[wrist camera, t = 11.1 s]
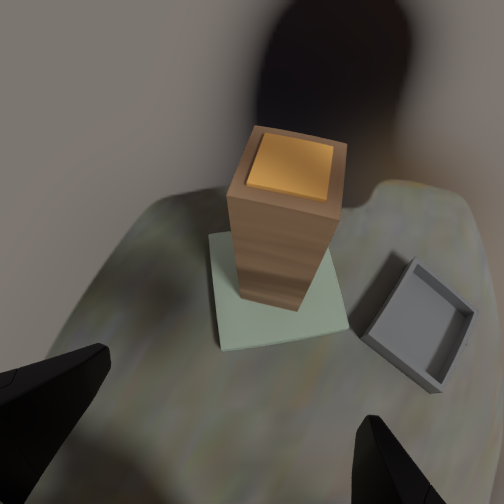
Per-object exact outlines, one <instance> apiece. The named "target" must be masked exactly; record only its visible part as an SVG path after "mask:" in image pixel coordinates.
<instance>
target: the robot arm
mask: <svg viewBox="0 0 504 504" xmlns="http://www.w3.org/2000/svg"><path fill="white" fill-rule="evenodd" d="M110 368H111V358H110V351H109V348H108V347H107V346H105V345H103V344H101V343H96V344H93V345H90V346H87V347H84V348H81V349H78V350H75V351H72V352H68V353H65V354H62V355H59V356H56V357H53V358H49V359H46V360H43V361H40V362H37V363H33V364H30V365H27V366H23V367H20V368H18V369H13V370H10V371H6V372H2V373H0V501H1V502H2V503H3V504H24V503H25V501H26V499H27V498H28V496H29V495H30V493H31V491H32V490H33V488H34V487H35V485H36V484H37V482H38V481H39V479H40V477H41V476H42V474H43V473H44V471H45V469H46V468H47V466H48V465H49V463H50V462H51V460H52V459H53V457H54V456H55V454H56V453H57V451H58V450H59V448H60V447H61V445H62V444H63V443H64V441H65V440H66V438H67V437H68V435H69V434H70V432H71V431H72V429H73V428H74V427H75V425H76V424H77V422H78V421H79V419H80V418H81V416H82V415H83V414H84V412H85V411H86V409H87V408H88V407H89V405H90V404H91V402H92V401H93V399H94V397H95V396H96V394H97V392H98V390H99V388H100V387H101V385H102V383H103V381H104V379H105V377H106V376H107V374H108V372H109V370H110ZM351 504H446V503H445V501H444V500H443V499H442V498H441V497H440V495H439V494H438V493H437V492H436V490H435V489H434V488H433V486H432V485H430V482H429V481H428V480H427V478H426V477H425V476H424V474H423V473H422V472H421V470H420V469H419V468H418V466H417V465H416V464H415V463H414V461H413V460H412V459H411V457H410V456H409V455H408V453H407V452H406V451H405V449H404V448H403V447H402V445H401V444H400V443H399V441H398V440H397V439H396V437H395V436H394V435H393V433H392V432H391V431H390V429H389V428H388V427H387V425H386V424H385V423H384V421H383V420H382V419H381V418H380V417H379V416H377V415H367V416H366V417H365V419H364V420H363V422H362V423H361V425H360V426H359V428H358V430H357V432H356V438H355V448H354V458H353V466H352V494H351Z"/></svg>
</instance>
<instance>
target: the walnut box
mask: <svg viewBox="0 0 504 504" xmlns="http://www.w3.org/2000/svg"><path fill="white" fill-rule="evenodd" d="M346 150H347V144H345V143H341V142H337V141H333V140H328V139H324V138H319V137H314V136H310V135H305V134H300V133H295V132H290V131H285V130H279V129H274V128H267V127H262V126H256V125H255V126H254V129H253V131H252V133H251V136H250V139H249V141H248V143H247V145H246V148H245V150H244V153H243V155H242V158H241V160H240V162H239V165H238V167H237V170H236V172H235V175H234V177H233V180H232V182H231V185H230V187H229V190H228V192H227V195H226V197H227V205H228V212H229V219H230V226H231V234H232V241H233V248H234V255H235V262H236V269H237V276H238V282H239V289H240V296H241V299H245V300H249V301H253V302H257V303H261V304H265V305H269V306H273V307H278V308H282V309H286V310H291V311H295V312H298V310H299V308H300V305H301V303H302V301H303V299H304V297H305V295H306V293H307V291H308V289H309V287H310V285H311V283H312V281H313V278H314V276H315V274H316V272H317V270H318V268H319V266H320V263H321V261H322V259H323V257H324V255H325V252H326V250H327V248H328V246H329V243H330V241H331V239H332V237H333V234H334V232H335V230H336V228H337V225H338V223H339V221H340V213H341V205H342V195H343V186H344V174H345V163H346Z"/></svg>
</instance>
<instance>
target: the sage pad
mask: <svg viewBox="0 0 504 504" xmlns="http://www.w3.org/2000/svg"><path fill="white" fill-rule="evenodd" d="M208 236H209V247H210V257H211V267H212V277H213V286H214V295H215V304H216V313H217V321H218V329H219V337H220V345H221V350H222V352H225V351H232V350H240V349H247V348H254V347H261V346H267V345H273V344H279V343H285V342H291V341H296V340H302V339H307V338H312V337H317V336H322V335H327V334H332V333H337V332H341V331H346V330H347V329H348V328H349V324H348V319H347V315H346V311H345V307H344V303H343V299H342V295H341V292H340V288H339V284H338V280H337V276H336V273H335V269H334V266H333V262H332V258H331V255H330V251H329V248H327V250H326V252H325V255H324V257H323V259H322V261H321V263H320V266H319V268H318V270H317V272H316V274H315V276H314V278H313V281H312V283H311V285H310V287H309V289H308V291H307V293H306V295H305V297H304V299H303V301H302V303H301V305H300V308H299V310H298V312H295V311H291V310H286V309H282V308H278V307H273V306H269V305H265V304H261V303H257V302H253V301H249V300H245V299H241V296H240V289H239V282H238V276H237V269H236V262H235V255H234V248H233V241H232V234H231V231H227V232H220V233H213V234H208Z"/></svg>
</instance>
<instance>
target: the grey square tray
mask: <svg viewBox="0 0 504 504" xmlns="http://www.w3.org/2000/svg"><path fill="white" fill-rule="evenodd" d="M478 313H479V310H478V309H476V308H475V307H474V306H473V305H472V304H471V303H470V302H469V301H468V300H467V299H465V298H464V297H463V296H462V295H461V294H460V293H459V292H458V291H456V290H455V289H454V288H453V287H452V286H451V285H450V284H448V283H447V282H446V281H445V280H444V279H443V278H441V277H440V276H439V275H438V274H437V273H435V272H434V271H433V270H432V269H431V268H429V267H428V266H427V265H426V264H425V263H423V262H422V261H421V260H420V259H418V258H417V257H416V256H415V257H414V258H413V259H412V260H411V261H410V262H409V263H408V264H407V265H406V267H405V269H404V270H403V272H402V274H401V276H400V277H399V279H398V281H397V282H396V284H395V286H394V287H393V289H392V291H391V292H390V294H389V295H388V297H387V299H386V300H385V302H384V303H383V305H382V307H381V308H380V310H379V311H378V313H377V314H376V316H375V317H374V319H373V320H372V322H371V323H370V325H369V326H368V328H367V329H366V331H365V332H364V333H363V335H362V336H361V338H360V339H361V340H362V341H363V342H364V343H366V344H367V345H368V346H369V347H371V348H372V349H373V350H375V351H376V352H377V353H378V354H380V355H381V356H382V357H384V358H385V359H386V360H387V361H389V362H390V363H391V364H392V365H394V366H395V367H396V368H398V369H399V370H400V371H401V372H403V373H404V374H405V375H407V376H408V377H409V378H410V379H412V380H413V381H414V382H415V383H417V384H418V385H419V386H421V387H422V388H423V389H424V390H426V391H427V392H428V393H430V394H433V393H442V392H443V390H444V388H445V386H446V385H447V383H448V381H449V379H450V377H451V375H452V373H453V371H454V369H455V367H456V365H457V363H458V361H459V359H460V356H461V354H462V352H463V350H464V348H465V345H466V343H467V341H468V338H469V336H470V334H471V331H472V329H473V326H474V324H475V321H476V318H477V316H478Z"/></svg>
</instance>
